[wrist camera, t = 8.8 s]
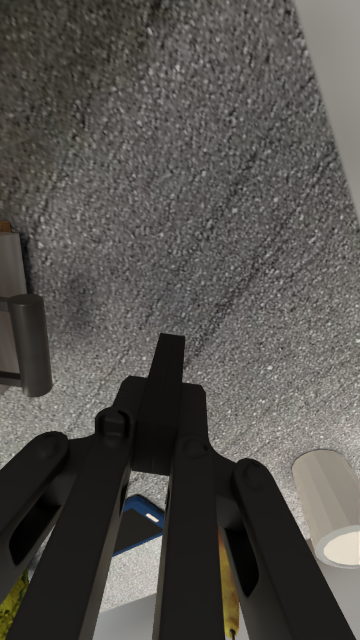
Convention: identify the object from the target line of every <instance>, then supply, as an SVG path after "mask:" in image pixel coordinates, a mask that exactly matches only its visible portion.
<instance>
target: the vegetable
mask: <svg viewBox="0 0 360 640" xmlns="http://www.w3.org/2000/svg"><path fill="white" fill-rule="evenodd" d="M28 568H29V565H27V567H26V568H25V570H24V571H23V573H22V574H21V576H20V577H19V579H18V580H17V582H16V583H15V585H14V586H13V588H12V589H11V591H10V592H9V594H8V595H7V597H6V598H5V600H4V601H3V603H2V604H1V606H0V640H5V637H6V635H7V633H8V631H9V628H10V626H11V624H12V622H13V619H14V617H15V615H16V612H17V610H18V608H19V606H20V603H21V601H22V599H23V597H24V594H25V592H26V590H27V588H28V585H29V580H28V577H27V574H28Z"/></svg>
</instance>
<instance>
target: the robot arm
mask: <svg viewBox="0 0 360 640" xmlns="http://www.w3.org/2000/svg"><path fill="white" fill-rule="evenodd" d="M184 350H185V336H178V335H171V334H165V333H160V336H159V340H158V343H157V347H156V351H155V354H154V358H153V361H152V365H151V368H150V372H149V375H148V378H144V377H138V376H131V375H129V376H128V377H127V378H126V379H125V380H124V381H123V382H122V384H121V386H120V389H119V391H118V393H117V396H116V398H115V401H114V403H113V405H112V406H111V407H108V408H105V409H103V410H102V411H100V412H99V413H98V414H97V415H96V417H95V434H92V435H90V436H87V437H83V438H77V439H70V440H68V438H67V436H66V435H65V434H63V433H62V432H57V431H51V432H45V433H43V434H40V435H38V436H37V437H35V438H34V439H32V440H31V441H30V442H29V443H28V444H27V445H26V446H25V447H24V448H23V449H22V450H21V451H20V452H19V453H17V454H16V455H15V456H14V457H13V458H12V459H11V460H10V461H9V462H8V463H7V464H6V465H5V466H4V467H3V468H2V469H1V470H0V606H1V604H2V603H3V601H4V600H5V598H6V597H7V595H8V594H9V592H10V591H11V589H12V588H13V586H14V585H15V583H16V582H17V580H18V579H19V577H20V576H21V574H22V573H23V571H24V570H25V568H26V567H27V565H28V564H29V562H30V561H31V559H32V558H33V556H34V555H35V553H36V552H37V550H38V549H39V547H40V546H41V544H42V543H43V541H44V540H45V538H46V537H47V536H48V534H49V533H50V531H51V530H52V528H53V527H54V525H55V527H54V529H53V531H52V533H51V536H50V538H49V540H48V542H47V545H46V547H45V549H44V551H43V554H42V556H41V558H40V560H39V563H38V565H37V567H36V570H35V572H34V574H33V576H32V579H31V581H30V583H29V585H28V588H27V590H26V592H25V594H24V597H23V599H22V601H21V603H20V606H19V608H18V610H17V612H16V615H15V617H14V619H13V622H12V624H11V626H10V628H9V631H8V633H7V635H6V637H5V640H92V639H93V635H94V630H95V626H96V622H97V618H98V614H99V609H100V605H101V601H102V597H103V593H104V588H105V584H106V580H107V576H108V572H109V567H110V563H111V559H112V555H113V551H114V546H115V542H116V538H117V534H118V530H119V525H120V521H121V517H122V513H123V509H124V504H125V500H126V496H127V492H128V488H129V478H130V473H131V469H132V471H137V472H144V473H151V474H158V475H165V476H169V484H168V489H167V495H166V500H165V504H166V507H165V517H164V526H163V536H162V546H161V556H160V565H159V575H158V585H157V595H156V605H155V614H154V624H153V633H152V640H225V628H224V613H223V598H222V584H221V569H220V554H219V540H218V525H217V524H219V528H220V532H221V536H222V539H223V543H224V547H225V550H226V554H227V558H228V562H229V565H230V569H231V573H232V576H233V580H234V584H235V588H236V591H237V595H238V599H239V602H240V606H241V609H242V614H243V617H244V620H245V625H246V628H247V631H248V635H249V639H250V640H356V638H355V636H354V635H353V633H352V630H351V629H350V627H349V625H348V623H347V621H346V619H345V617H344V615H343V613H342V611H341V609H340V607H339V606H338V603H337V601H336V599H335V597H334V595H333V593H332V591H331V590H330V588H329V586H328V584H327V582H326V580H325V578H324V576H323V574H322V572H321V570H320V568H319V566H318V564H317V562H316V560H315V558H314V556H313V555H312V552H311V550H310V549H309V547H308V545H307V543H306V541H305V539H304V537H303V535H302V533H301V531H300V529H299V527H298V525H297V523H296V521H295V519H294V517H293V515H292V513H291V511H290V510H289V508H288V506H287V504H286V502H285V500H284V498H283V496H282V494H281V492H280V490H279V488H278V486H277V484H276V482H275V480H274V478H273V476H272V475H271V473H270V472H269V470H268V469H267V468H266V467H265V466H264V465H263V464H262V463H260V462H258V461H256V460H254V459H249V458H244V459H241V460H239V461H238V462H237V463H235V462H233V461H231V460H229V459H227V458H225V457H223V456H221V455H220V454H218V453H217V452H216V451H215V450H214V449H213V447H212V446H211V444H210V442H209V438H208V424H207V410H206V409H207V407H206V393H205V391H204V389H203V387H202V386H201V385H197V384H190V383H183V382H182V376H183V363H184Z"/></svg>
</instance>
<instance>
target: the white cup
mask: <svg viewBox="0 0 360 640" xmlns="http://www.w3.org/2000/svg"><path fill="white" fill-rule="evenodd" d="M292 474H293V478H294V481H295V485H296V488H297V492H298V495H299V499H300V502H301V506H302V509H303V513H304V516H305V520H306V523H307V527H308V530H309V534H310V537H311V540H312V544H313V548H314V551H315V555H316V556H317V557H318V558H319V559H320V560H321V561H322V562H323V563H326V564H328V565H331V566H333V567H339V568H347V569H353V568H360V479H359V478H358V477H357V475H356V474H355V473H354V471H353V470H352V468H351V467H350V466H349V464H348V463H347V462H346V460H345V459H344V458H343V456H342V455H340V454H339V453H337V452H335V451H330V450H316V451H311V452H308V453H306V454H303V455H302V456H300V457H299V458H298V459H297V460H296V461H295V462H294V464H293V466H292Z"/></svg>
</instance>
